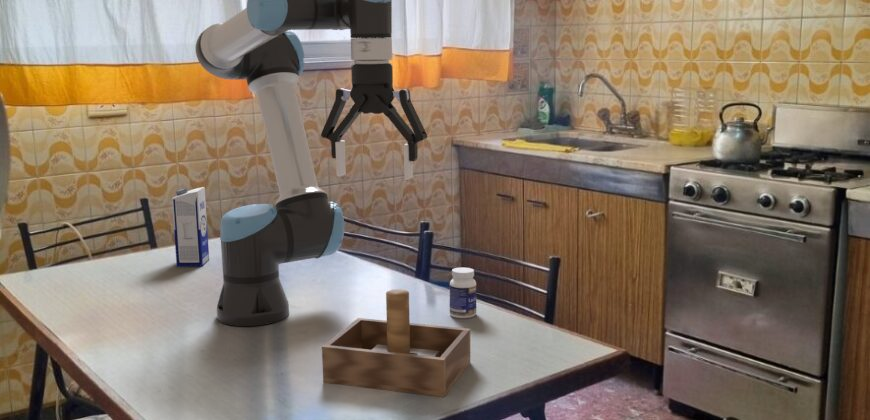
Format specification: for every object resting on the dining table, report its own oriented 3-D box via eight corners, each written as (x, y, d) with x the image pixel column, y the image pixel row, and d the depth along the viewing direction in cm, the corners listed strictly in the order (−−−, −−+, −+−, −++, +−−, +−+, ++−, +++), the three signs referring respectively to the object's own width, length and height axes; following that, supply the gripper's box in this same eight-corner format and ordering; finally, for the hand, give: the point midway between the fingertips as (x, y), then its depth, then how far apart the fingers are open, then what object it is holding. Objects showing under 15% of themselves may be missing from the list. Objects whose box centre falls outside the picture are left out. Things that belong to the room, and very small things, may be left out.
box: (323, 382, 154) (321, 346, 152) (359, 350, 169) (358, 317, 167) (444, 397, 147) (443, 360, 146) (470, 362, 162) (470, 328, 161)
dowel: (392, 363, 160) (390, 288, 157) (413, 365, 159) (412, 290, 156) (384, 371, 156) (382, 295, 153) (405, 373, 155) (404, 297, 152)
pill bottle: (474, 320, 186) (474, 274, 183) (447, 318, 187) (447, 272, 185) (478, 311, 191) (478, 266, 189) (452, 310, 192) (452, 265, 190)
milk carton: (202, 266, 229) (197, 190, 225) (176, 266, 229) (171, 190, 225) (209, 259, 236) (204, 185, 232) (184, 259, 236) (179, 185, 232)
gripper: (300, 62, 162) (305, 177, 166) (430, 63, 154) (431, 183, 159) (318, 61, 169) (322, 171, 173) (443, 61, 161) (444, 176, 166)
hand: (374, 177), depth 166 cm, fingers open, 13 cm apart
